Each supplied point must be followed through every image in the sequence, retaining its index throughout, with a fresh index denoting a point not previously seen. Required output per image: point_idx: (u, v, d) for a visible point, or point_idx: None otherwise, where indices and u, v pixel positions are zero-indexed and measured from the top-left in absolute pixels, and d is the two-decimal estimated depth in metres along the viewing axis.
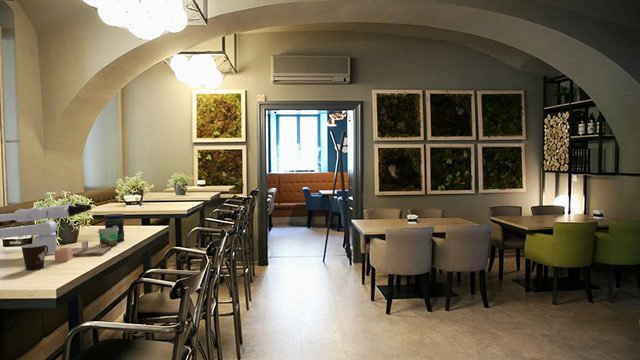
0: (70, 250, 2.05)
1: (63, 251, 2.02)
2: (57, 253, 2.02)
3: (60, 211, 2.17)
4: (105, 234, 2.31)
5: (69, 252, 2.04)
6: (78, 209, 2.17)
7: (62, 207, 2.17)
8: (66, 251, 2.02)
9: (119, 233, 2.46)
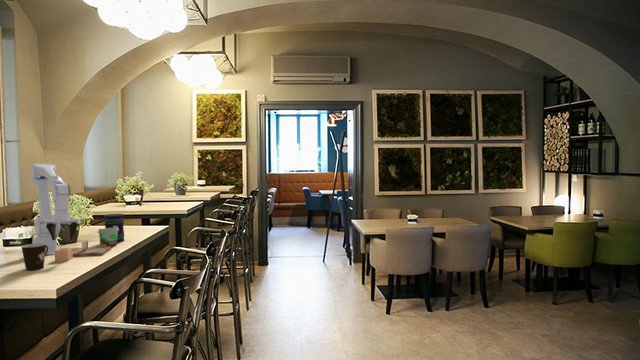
0: (70, 250, 2.05)
1: (63, 251, 2.02)
2: (57, 253, 2.02)
3: None
4: (105, 234, 2.31)
5: (69, 252, 2.04)
6: None
7: (55, 216, 2.01)
8: (66, 251, 2.02)
9: (119, 233, 2.46)
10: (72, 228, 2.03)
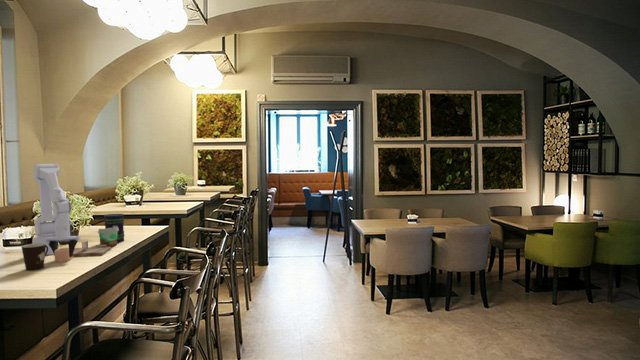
0: None
1: (63, 251, 2.02)
2: (57, 253, 2.02)
3: None
4: (105, 234, 2.31)
5: None
6: None
7: (56, 234, 2.02)
8: (66, 251, 2.02)
9: (119, 233, 2.46)
10: (71, 246, 2.03)
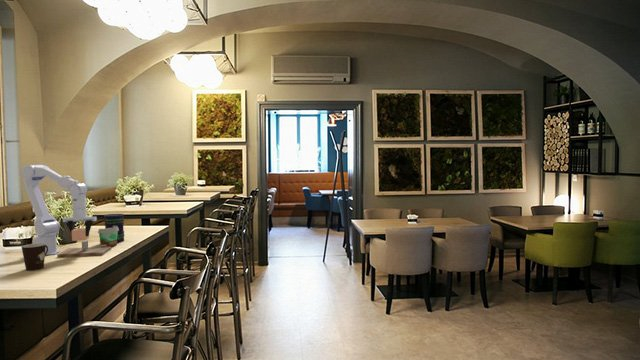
0: None
1: (80, 231, 2.12)
2: (74, 233, 2.12)
3: None
4: (105, 234, 2.31)
5: (85, 232, 2.14)
6: None
7: (73, 214, 2.12)
8: (82, 231, 2.12)
9: (119, 233, 2.46)
10: (87, 225, 2.14)
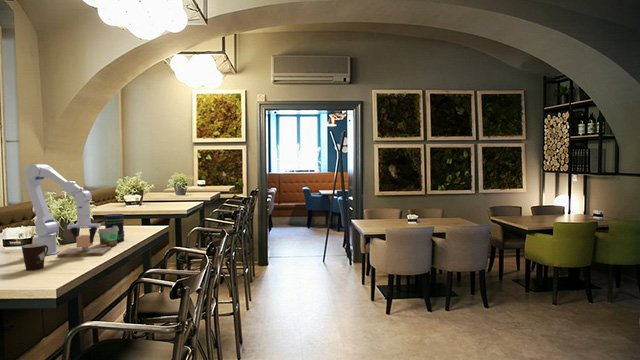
0: None
1: (84, 238, 2.15)
2: (79, 239, 2.15)
3: None
4: (105, 234, 2.31)
5: None
6: None
7: (78, 221, 2.15)
8: (87, 238, 2.15)
9: (119, 233, 2.46)
10: (92, 232, 2.17)
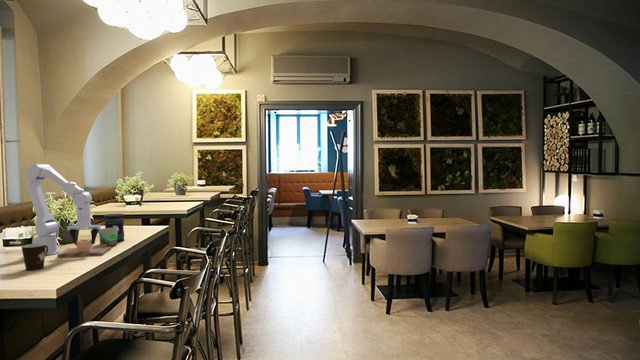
0: (91, 241, 2.19)
1: (84, 242, 2.15)
2: (79, 244, 2.15)
3: None
4: (105, 234, 2.31)
5: (90, 243, 2.18)
6: None
7: (78, 222, 2.15)
8: (87, 242, 2.16)
9: (119, 233, 2.46)
10: (93, 234, 2.17)
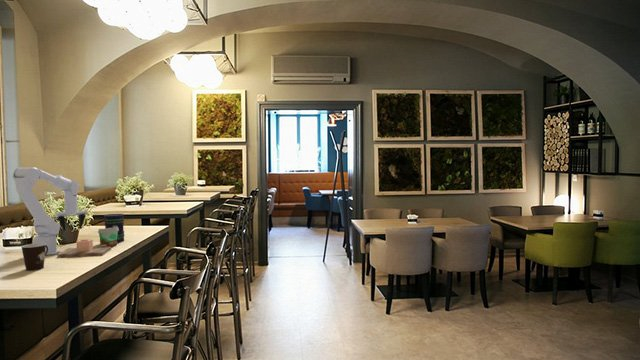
0: (91, 241, 2.19)
1: (84, 242, 2.15)
2: (79, 244, 2.15)
3: (65, 207, 2.30)
4: (105, 234, 2.31)
5: (90, 243, 2.18)
6: None
7: (67, 209, 2.29)
8: (87, 242, 2.16)
9: (119, 233, 2.46)
10: (83, 219, 2.34)
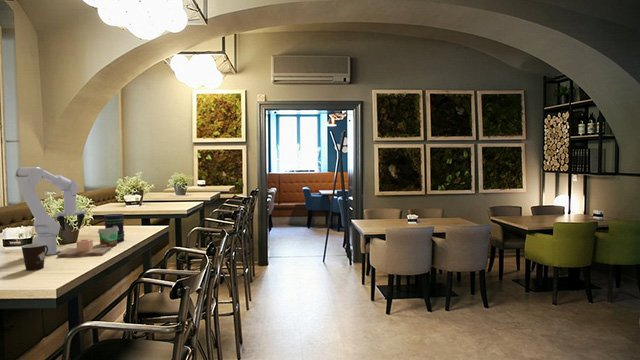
0: (91, 241, 2.19)
1: (84, 242, 2.15)
2: (79, 244, 2.15)
3: (64, 207, 2.31)
4: (105, 234, 2.31)
5: (90, 243, 2.18)
6: (62, 224, 2.30)
7: (67, 209, 2.30)
8: (87, 242, 2.16)
9: (119, 233, 2.46)
10: (82, 218, 2.35)
